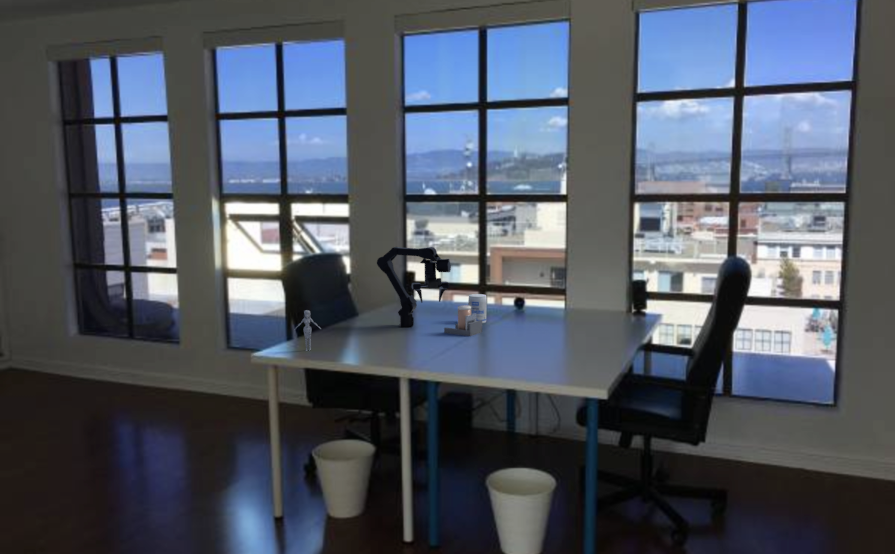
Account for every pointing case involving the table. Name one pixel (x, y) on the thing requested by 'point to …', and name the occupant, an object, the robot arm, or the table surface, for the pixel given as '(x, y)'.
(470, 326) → the lane
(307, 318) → the human figurine
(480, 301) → the supplement tub
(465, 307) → the jar
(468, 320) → the follower
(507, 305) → the table surface
